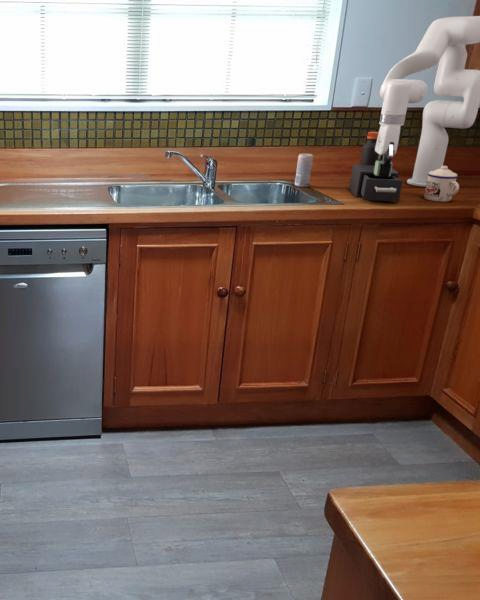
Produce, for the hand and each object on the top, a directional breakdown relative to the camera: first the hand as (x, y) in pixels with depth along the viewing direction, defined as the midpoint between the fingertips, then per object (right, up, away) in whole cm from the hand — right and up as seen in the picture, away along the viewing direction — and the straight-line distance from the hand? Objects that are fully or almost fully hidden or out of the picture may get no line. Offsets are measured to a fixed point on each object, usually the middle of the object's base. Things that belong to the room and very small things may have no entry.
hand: (382, 173), depth 211 cm
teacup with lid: (+22, -9, +3) cm, 24 cm away
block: (0, 0, 0) cm, 0 cm away
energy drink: (-19, 0, +25) cm, 32 cm away
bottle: (+7, +1, +27) cm, 28 cm away
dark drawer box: (+2, -5, +13) cm, 14 cm away
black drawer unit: (0, -8, +2) cm, 8 cm away
